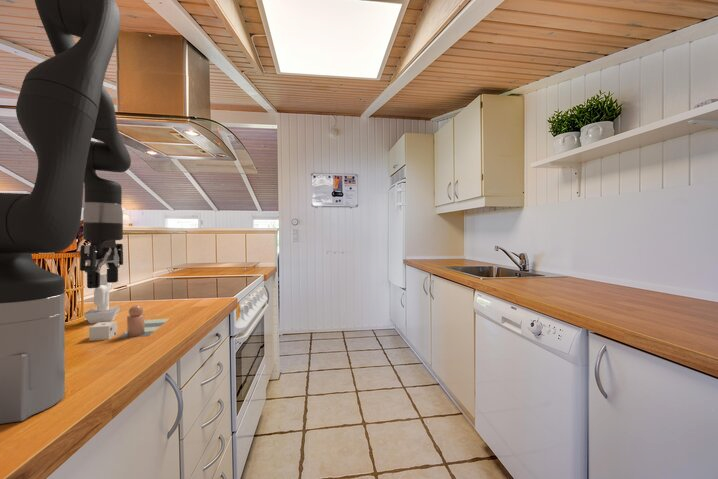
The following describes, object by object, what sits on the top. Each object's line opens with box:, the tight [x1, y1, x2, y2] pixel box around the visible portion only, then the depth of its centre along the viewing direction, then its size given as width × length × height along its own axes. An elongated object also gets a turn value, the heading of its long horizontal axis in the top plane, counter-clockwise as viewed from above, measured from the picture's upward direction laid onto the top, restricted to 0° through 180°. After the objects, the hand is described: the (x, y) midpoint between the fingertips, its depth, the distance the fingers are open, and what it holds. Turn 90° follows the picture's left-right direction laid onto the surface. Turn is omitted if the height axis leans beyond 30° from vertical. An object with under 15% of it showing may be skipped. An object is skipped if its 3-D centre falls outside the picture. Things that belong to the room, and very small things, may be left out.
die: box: [88, 321, 118, 342], centre depth 73 cm, size 4×4×4 cm
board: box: [115, 318, 170, 340], centre depth 81 cm, size 16×7×1 cm, turn 17°
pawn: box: [126, 304, 146, 338], centre depth 75 cm, size 4×4×8 cm
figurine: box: [83, 272, 122, 324], centre depth 87 cm, size 7×9×15 cm
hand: (103, 285), depth 73 cm, fingers open, 8 cm apart
